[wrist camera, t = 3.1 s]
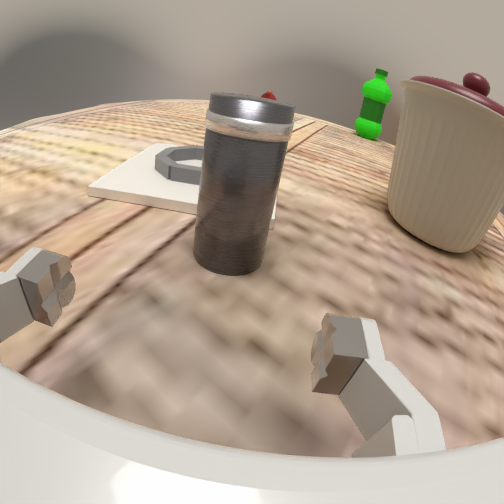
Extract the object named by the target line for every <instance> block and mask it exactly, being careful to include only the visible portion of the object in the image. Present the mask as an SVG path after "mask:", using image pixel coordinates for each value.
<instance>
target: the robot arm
mask: <svg viewBox="0 0 504 504" xmlns="http://www.w3.org/2000/svg"><path fill="white" fill-rule="evenodd" d="M71 268H72V265H71V261H70V258H68V257H67V256H64V255H61V254H58V253H55V252H52V251H48V250H44V249H41V248H38V247H32V248H30V249H29V250H28V251H27V252H26V253H25V254H24V255H23V256H22V257H21V258H20V259H19V260H17V261H16V262H15V263H14V264H13V265H12V266H11V267H10V268H9V269H8V270H7V271H6V272H3V271H2V272H0V343H1V342H2V341H4V340H5V339H7V338H8V337H10V336H11V335H13V334H15V333H16V332H18V331H19V330H21V329H22V328H24V327H25V326H27V325H29V324H30V323H32V322H33V321H34V320H35V321H38V322H41V323H43V324H46V325H48V326H51V327H53V325H54V324H55V322H56V321H57V320H58V318H59V317H60V316H61V314H62V307H65V306H67V305H69V303H70V302H71V300H72V299H73V296H74V293H75V279H74V277H73V276H72V274H71V273H70V270H71ZM311 362H312V364H313V365H314V366H315V368H314V370H313V372H312V392H317V393H325V394H333V395H339V396H338V397H339V398H340V400H341V402H342V403H343V405H344V406H345V408H346V410H347V411H348V413H349V414H350V416H351V418H352V419H353V421H354V422H355V424H356V426H357V427H358V429H359V430H360V432H361V434H362V435H363V437H364V438H365V440H366V442H365V443H364V444H363V445H361V446H360V447H359V448H358V449H357V450H355V451H354V452H353V453H352V457H313V456H298V455H286V454H276V453H267V452H259V451H252V450H245V449H239V448H233V447H227V446H222V445H216V444H211V443H207V442H202V441H197V440H193V439H189V438H185V437H180V436H177V435H173V434H169V433H165V432H162V431H158V430H155V429H151V428H148V427H145V426H141V425H138V424H135V423H132V422H129V421H126V420H123V419H120V418H117V417H115V416H112V415H109V414H106V413H104V412H101V411H99V410H96V409H93V408H91V407H89V406H86V405H84V404H81V403H79V402H77V401H74V400H72V399H70V398H67V397H65V396H63V395H61V394H59V393H57V392H54V391H52V390H50V389H48V388H46V387H44V386H42V385H40V384H38V383H36V382H34V381H32V380H31V379H29V378H27V377H25V376H23V375H21V374H20V373H18V372H16V371H14V370H12V369H11V368H9V367H7V366H6V365H4V364H2V363H1V362H0V504H504V437H503V438H499V439H496V440H492V441H488V442H483V443H479V444H474V445H469V446H464V447H459V448H454V449H448V450H446V446H445V442H444V437H443V433H442V428H441V424H440V420H439V416H438V413H437V411H436V410H435V409H434V408H433V407H432V406H431V405H430V404H429V403H428V402H427V400H426V399H425V398H424V397H423V396H422V395H421V394H420V393H419V392H418V391H417V390H416V388H415V387H414V386H413V385H412V384H411V383H410V382H409V381H408V380H407V379H406V378H405V377H404V375H403V374H402V373H401V372H400V371H399V370H398V369H397V368H396V367H395V366H394V365H393V364H392V363H391V362H390V361H386V359H385V355H384V351H383V347H382V343H381V339H380V335H379V331H378V328H377V324H376V321H375V320H374V319H367V318H357V317H351V316H344V315H337V314H331V313H326V315H325V316H324V318H323V320H322V330H320V331H319V332H317V333H316V336H315V338H314V341H313V345H312V350H311Z"/></svg>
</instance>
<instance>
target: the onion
mask: <svg viewBox="0 0 504 504" xmlns="http://www.w3.org/2000/svg"><path fill="white" fill-rule="evenodd" d="M261 97H262V98H267V99H272V100H276V98H275V96H274V95H273V94H272V91H271V90H270V91H268V92H267V93H265V94H263V95H262V96H261Z"/></svg>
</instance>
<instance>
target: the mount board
mask: <svg viewBox="0 0 504 504" xmlns="http://www.w3.org/2000/svg"><path fill="white" fill-rule="evenodd" d="M203 149H204V147H203V146H194V145H192V146H179V145H172V144H163V143H155V144H153V145H151V146H150V147H148V148H146V149H145V150H143V151H141V152H140V153H138V154H136V155H135V156H133V157H131V158H130V159H128V160H127V161H125V162H123V163H122V164H120V165H119V166H117V167H116V168H114V169H112V170H111V171H109V172H108V173H106V174H105V175H103V176H102V177H100V178H99V179H97V180H96V181H95V182H93V183H92V184H90V185H89V186H88V196H93V197H99V198H105V199H111V200H117V201H123V202H129V203H135V204H141V205H146V206H152V207H158V208H163V209H169V210H174V211H180V212H185V213H190V214H196V215H197V204H198V194H199V184H200V175H201V166H202V157H203ZM276 198H277V195H276ZM275 209H276V200H275V204H274V209H273V213H272V218H271V223H270V227H269V229H272V228H273V224H274V220H275Z"/></svg>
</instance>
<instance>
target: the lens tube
mask: <svg viewBox="0 0 504 504" xmlns="http://www.w3.org/2000/svg"><path fill="white" fill-rule="evenodd" d="M294 112H295V106H293V105H291V104H287V103H284V102H280V101H276V100H272V99H267V98H262V97H256V96H249V95H243V94H234V93H211V97H210V104H209V108H208V109H207V113H206V120H205V127H206V133H205V141H204V149H203V157H202V166H201V175H200V184H199V194H198V204H197V215H196V226H195V238H194V251H193V253H194V257H195V259H196V260H197V262H198V263H199V264H200V265H201V266H203V267H204V268H206V269H208V270H210V271H212V272H215V273H219V274H223V275H244V274H248V273H251V272H253V271H255V270H256V269H257V268H258V267H259V266H260V265H261V262H262V258H263V254H264V249H265V245H266V240H267V236H268V231H269V227H270V223H271V218H272V213H273V209H274V204H275V200H276V195H277V191H278V186H279V182H280V177H281V172H282V168H283V163H284V159H285V154H286V149H287V145H288V141H289V140H290V139H291V134H292V129H293V125H294V122H293V117H294Z"/></svg>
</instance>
